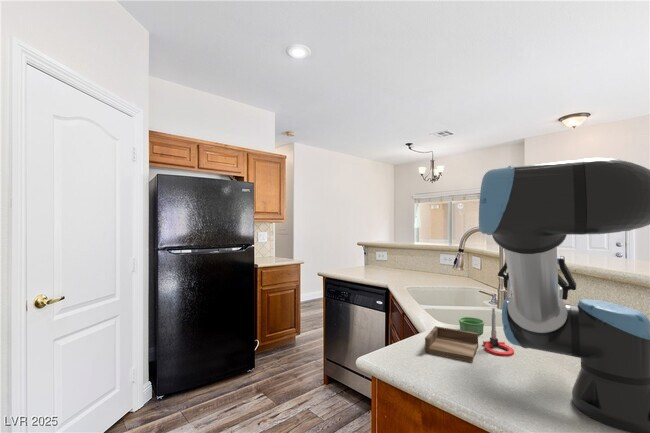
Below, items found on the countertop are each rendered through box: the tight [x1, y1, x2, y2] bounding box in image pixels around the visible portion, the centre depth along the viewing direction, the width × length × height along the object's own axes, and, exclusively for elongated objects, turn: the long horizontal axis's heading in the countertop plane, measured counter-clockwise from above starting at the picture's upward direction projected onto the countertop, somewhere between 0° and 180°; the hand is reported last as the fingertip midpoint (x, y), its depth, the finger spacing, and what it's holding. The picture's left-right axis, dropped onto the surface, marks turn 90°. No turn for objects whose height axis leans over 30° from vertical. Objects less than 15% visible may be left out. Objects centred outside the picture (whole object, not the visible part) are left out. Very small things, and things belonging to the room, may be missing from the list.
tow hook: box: [482, 307, 515, 357], centre depth 102 cm, size 8×13×9 cm
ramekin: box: [458, 316, 485, 336], centre depth 120 cm, size 9×9×4 cm
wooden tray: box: [424, 325, 479, 363], centre depth 103 cm, size 14×14×4 cm
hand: (533, 302), depth 99 cm, fingers open, 13 cm apart
